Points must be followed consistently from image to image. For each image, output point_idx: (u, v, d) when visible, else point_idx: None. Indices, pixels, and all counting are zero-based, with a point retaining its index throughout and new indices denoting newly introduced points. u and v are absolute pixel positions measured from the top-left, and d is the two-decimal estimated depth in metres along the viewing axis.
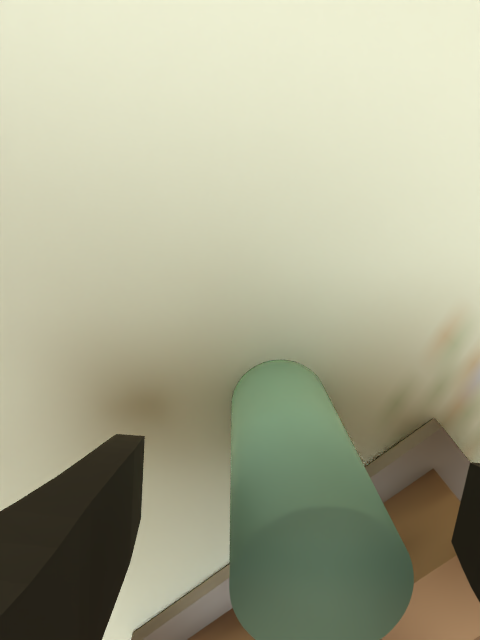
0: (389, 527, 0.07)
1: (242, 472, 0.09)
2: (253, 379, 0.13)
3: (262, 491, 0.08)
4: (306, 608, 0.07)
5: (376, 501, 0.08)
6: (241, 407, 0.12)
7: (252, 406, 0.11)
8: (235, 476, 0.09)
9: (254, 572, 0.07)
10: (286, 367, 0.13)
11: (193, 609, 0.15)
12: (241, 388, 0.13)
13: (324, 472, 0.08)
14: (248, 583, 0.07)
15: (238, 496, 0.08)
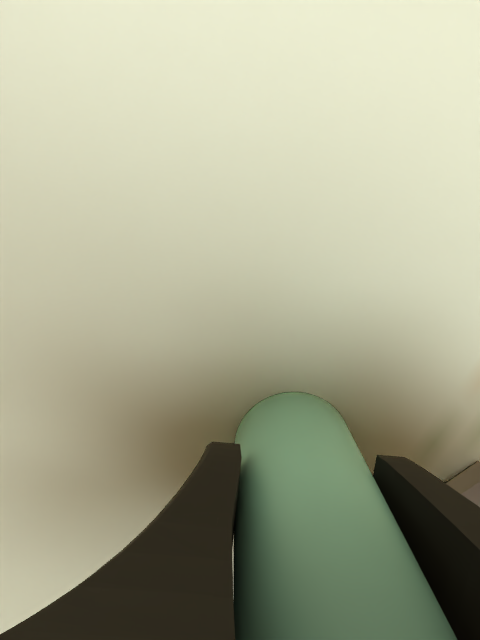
0: None
1: (250, 568, 0.07)
2: (262, 418, 0.10)
3: (279, 616, 0.05)
4: None
5: (447, 636, 0.05)
6: (247, 457, 0.09)
7: (261, 460, 0.09)
8: (240, 569, 0.07)
9: None
10: (302, 403, 0.11)
11: None
12: (247, 428, 0.11)
13: (369, 591, 0.05)
14: None
15: (245, 610, 0.06)
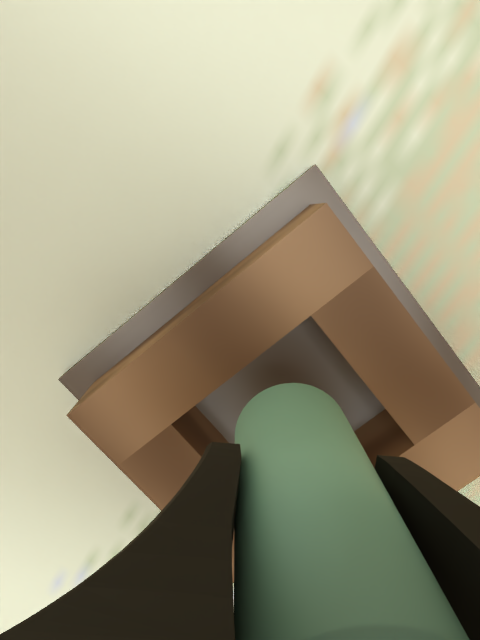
0: None
1: (247, 550, 0.07)
2: (258, 410, 0.11)
3: (273, 589, 0.06)
4: None
5: (436, 598, 0.05)
6: (244, 448, 0.10)
7: (257, 449, 0.09)
8: (238, 552, 0.07)
9: None
10: (297, 392, 0.11)
11: (112, 340, 0.18)
12: (244, 421, 0.11)
13: (359, 559, 0.06)
14: None
15: (242, 588, 0.06)
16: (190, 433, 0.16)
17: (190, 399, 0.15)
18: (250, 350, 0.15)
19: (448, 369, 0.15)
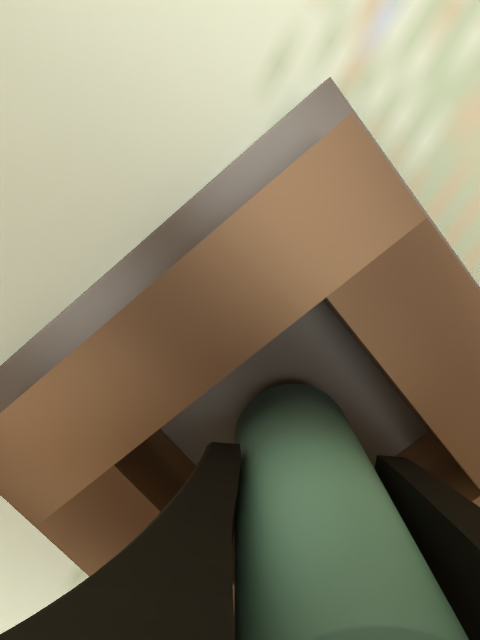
0: None
1: (247, 550, 0.07)
2: (259, 410, 0.11)
3: (274, 592, 0.06)
4: None
5: (437, 600, 0.05)
6: (245, 449, 0.10)
7: (258, 449, 0.09)
8: (239, 553, 0.07)
9: None
10: (297, 393, 0.11)
11: (41, 339, 0.12)
12: (245, 422, 0.11)
13: (360, 561, 0.06)
14: None
15: (243, 589, 0.06)
16: (147, 476, 0.11)
17: (142, 427, 0.10)
18: (232, 352, 0.09)
19: None
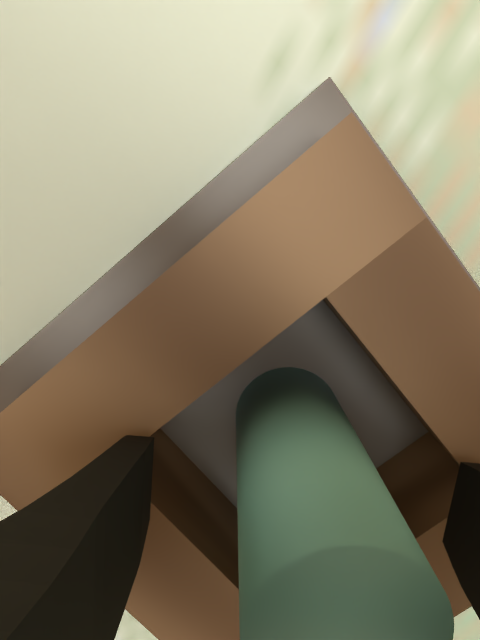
0: (422, 565, 0.06)
1: (248, 501, 0.08)
2: (257, 391, 0.12)
3: (271, 528, 0.07)
4: None
5: (403, 532, 0.07)
6: (245, 423, 0.11)
7: (257, 423, 0.10)
8: (241, 505, 0.08)
9: (267, 625, 0.06)
10: (292, 375, 0.12)
11: (41, 339, 0.12)
12: (245, 401, 0.12)
13: (341, 502, 0.07)
14: (261, 638, 0.06)
15: (245, 531, 0.07)
16: None
17: (141, 427, 0.10)
18: (232, 352, 0.09)
19: None
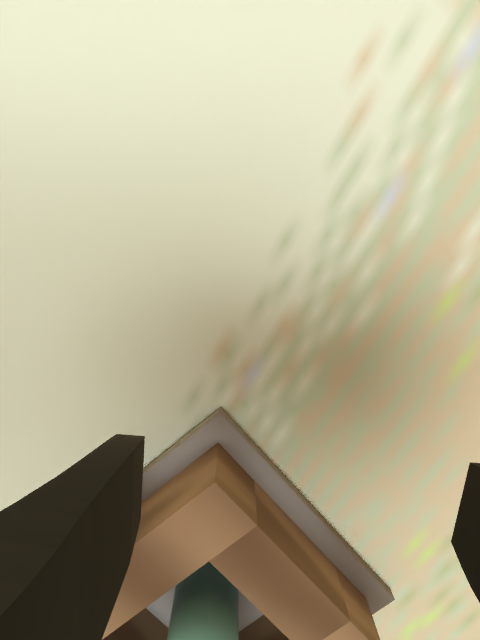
0: None
1: None
2: (184, 581, 0.20)
3: None
4: None
5: None
6: (174, 609, 0.19)
7: (177, 615, 0.19)
8: None
9: None
10: (205, 570, 0.21)
11: None
12: (178, 585, 0.21)
13: None
14: None
15: None
16: None
17: (114, 622, 0.18)
18: (161, 587, 0.18)
19: (325, 597, 0.18)
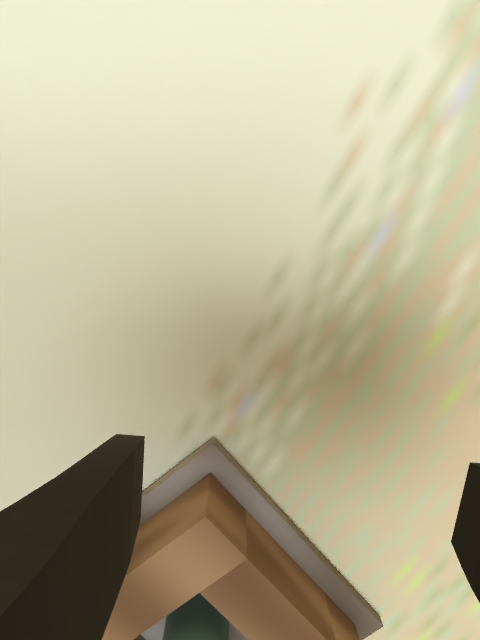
0: None
1: None
2: None
3: None
4: None
5: None
6: (165, 637, 0.20)
7: None
8: None
9: None
10: (197, 597, 0.21)
11: None
12: None
13: None
14: None
15: None
16: None
17: None
18: (152, 617, 0.18)
19: (313, 628, 0.18)
